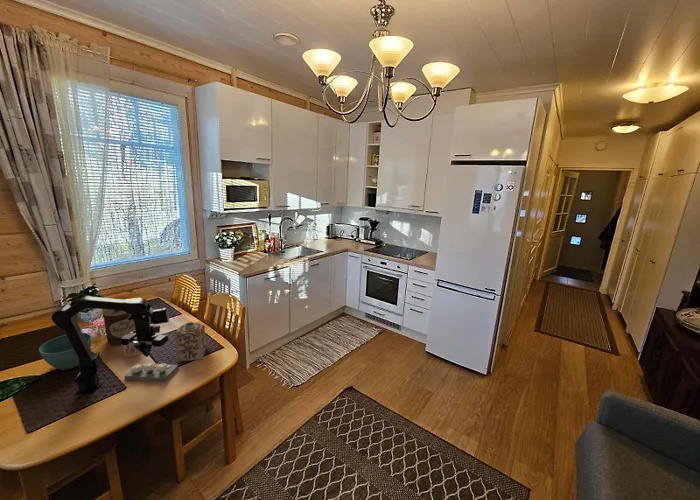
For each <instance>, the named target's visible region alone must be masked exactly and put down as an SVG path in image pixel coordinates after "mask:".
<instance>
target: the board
mask: <svg viewBox="0 0 700 500" xmlns="http://www.w3.org/2000/svg"><path fill="white" fill-rule="evenodd" d="M147 363H148V362H139V363H138V364H141V365H142V371H140V372H139V373H133V372H132V369H131V370H130V371H128V372H127V373H126V374H125V375H124V380H127V381H142V382H144V381H145V382H158V383H159V382H160V383H166V382H168V381H169V379H170V378H171V377H172V376H173V375H174V374H175V373H176V372H177V371H178V370H179V364H169V363H166V364H167V369H166V370H165V372H164V373H163V374H160V372H157V366H158V365H159V364H160V363H154V366H155V368H154V369H153V370H152V372H151V373H148V371H145V370H144V365H145V364H147Z"/></svg>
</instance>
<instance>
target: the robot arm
mask: <svg viewBox="0 0 700 500" xmlns="http://www.w3.org/2000/svg"><path fill="white" fill-rule="evenodd" d="M85 309H96V310H97V309H98V310H106V309H110V310H121V311H124V312H127V313H129V314H131V315H130V316H129V317H128V320H133V319H134V325H135V330H134V331H133V333H136V334H128V335H126V336H125V337H124V338H122V339H121V341H120V342H121V345H120V346H123V345H126V346H127V345H128V344H129V341H132V342H134V344H135V345H134V347H135V348H137V349H138V350H139V351H140V352H141V353H140V354H142V355H143V356H144V357H146V358H148V357H149V356H150V353H151V351H152V347H155V348H159V347H162V346H164V345H165V344H166V343H168V342H169V340H170V339H169V335H167V334H159V335H157V336H156V334H158V333H160V331H161V325H162V324H166V323H169V321H170V317H169V316H170V315H169V311H168V309H167V307H163V308H157V309H155V307H153V306H152V305H151V304H149V302H148V300H147V299H146V298H145V297H143V298H142V297H134V298H133V297H132V298H128V299H119V298H111V297H110V298H109V297H98V296H91V295H85V296H82V297H81V298H79V299H76V300H74V301H73V302H71V303H69V304H62V305H60V307H58V308H57V309H56V310H55V311H54V312H53V313H52V314H51V318H50V319H51V321H52V322H53V324H54V325H55V326H56V327H57V328H59V329H61V330H63V331H64V332H63V333H65V335H67V337H68V339H69V341H70V343H71V345H72V347H73V349H74V351H75V353H76V354H77V356H78V358H79V365H78V368H79V371H78V373H77V374H76V376H75V378H74V379H73V380H74V382H75V383H76V384H77V387H78V390H76V391H75V393H76V394H80V395H81V394H83V395H86V394H87V395H91V394H92V393H93V392H95V390H97V389H98V388H100V387H101V386H102V385H103V383H102V382H100V378H99V375H98V371H99V369H100V367H101V366H102V362H103V357H101V354H100V351H97V352H93V351H92V349H91V347H89V345H88V343H87V341H86V339H85V337H84V335H83V333H84V332H82V330H81V327H80V326H79V323H78V321H79V320H78V314H79V313H80V312H82V311H83V310H85ZM159 324H160V325H159Z"/></svg>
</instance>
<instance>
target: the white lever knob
mask: <svg viewBox="0 0 700 500" xmlns="http://www.w3.org/2000/svg"><path fill="white" fill-rule="evenodd" d="M158 364H159V365H158V366H157V372H160V374H163V373H164V372H165V370H166V369H167V364H168V363H165V362H163V363H158Z"/></svg>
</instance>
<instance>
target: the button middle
mask: <svg viewBox="0 0 700 500" xmlns="http://www.w3.org/2000/svg"><path fill="white" fill-rule="evenodd" d="M146 363H147V364H145V365H144V370H145V371H148V373H151V372H152V370H153V369H154V368H155V366H154V364H155V363H154V362H146Z"/></svg>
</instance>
